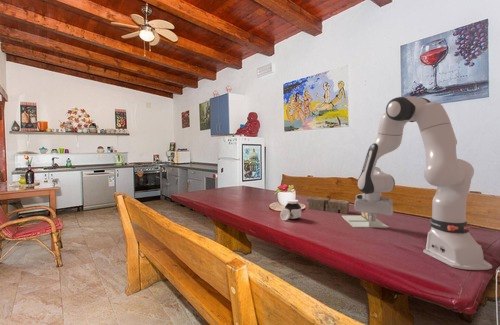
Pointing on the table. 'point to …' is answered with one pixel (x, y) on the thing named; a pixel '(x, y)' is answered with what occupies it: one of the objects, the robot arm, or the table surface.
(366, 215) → the fence fixed
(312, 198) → the grey stone bar
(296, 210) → the spread jar
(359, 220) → the card
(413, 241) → the table surface
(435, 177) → the robot arm
